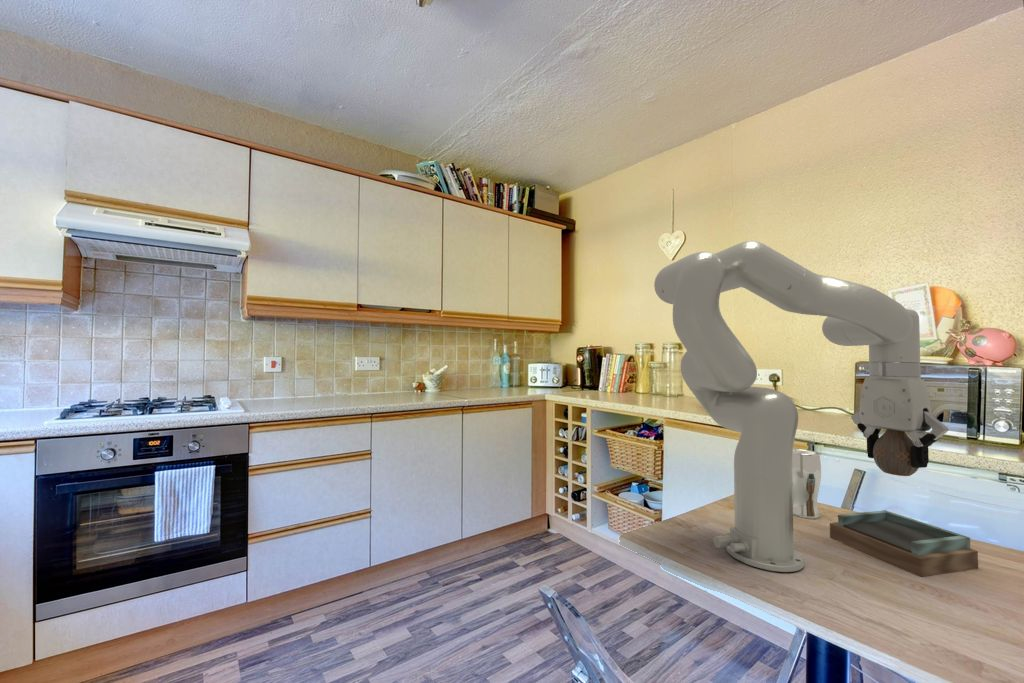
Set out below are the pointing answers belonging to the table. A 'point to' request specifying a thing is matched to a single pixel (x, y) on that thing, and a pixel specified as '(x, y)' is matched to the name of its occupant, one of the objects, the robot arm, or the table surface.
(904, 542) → the dock
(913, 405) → the robot arm
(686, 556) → the table surface
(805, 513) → the beer glass
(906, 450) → the vase
